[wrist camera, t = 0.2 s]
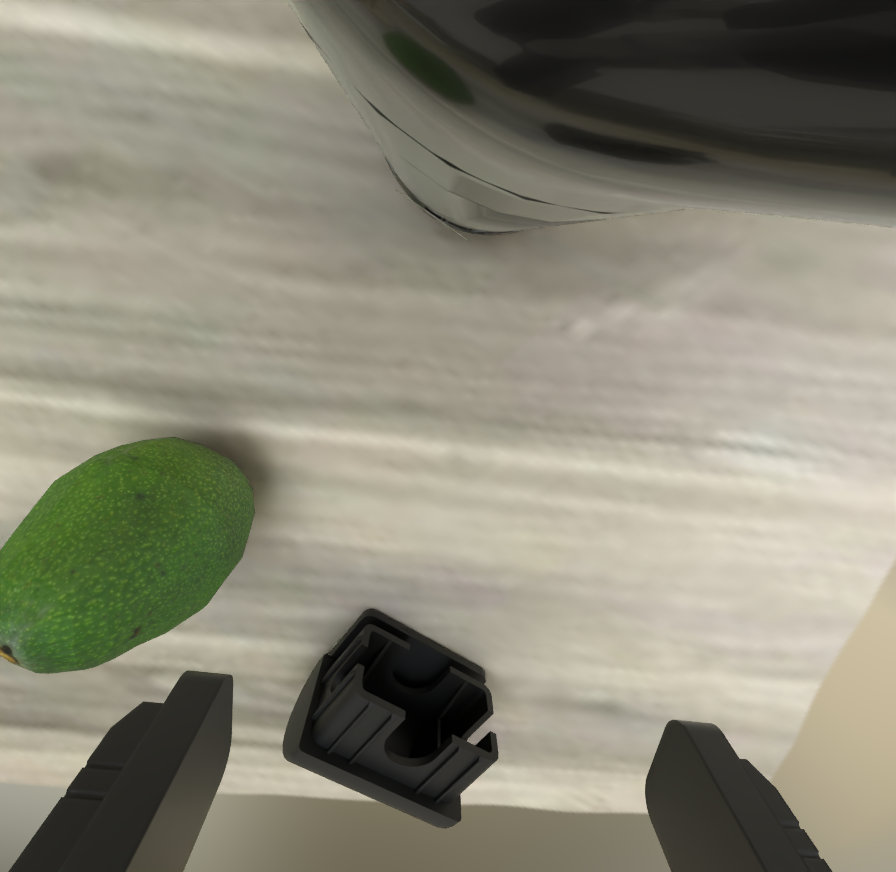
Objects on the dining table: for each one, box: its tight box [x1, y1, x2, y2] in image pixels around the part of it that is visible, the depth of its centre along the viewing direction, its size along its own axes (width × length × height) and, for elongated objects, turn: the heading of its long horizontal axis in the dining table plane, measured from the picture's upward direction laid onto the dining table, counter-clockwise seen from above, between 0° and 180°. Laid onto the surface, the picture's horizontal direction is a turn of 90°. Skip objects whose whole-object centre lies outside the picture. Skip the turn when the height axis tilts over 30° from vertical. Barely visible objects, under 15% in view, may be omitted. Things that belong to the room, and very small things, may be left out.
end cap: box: [283, 609, 498, 828], centre depth 28 cm, size 10×7×7 cm
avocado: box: [0, 437, 255, 674], centre depth 21 cm, size 8×8×12 cm
